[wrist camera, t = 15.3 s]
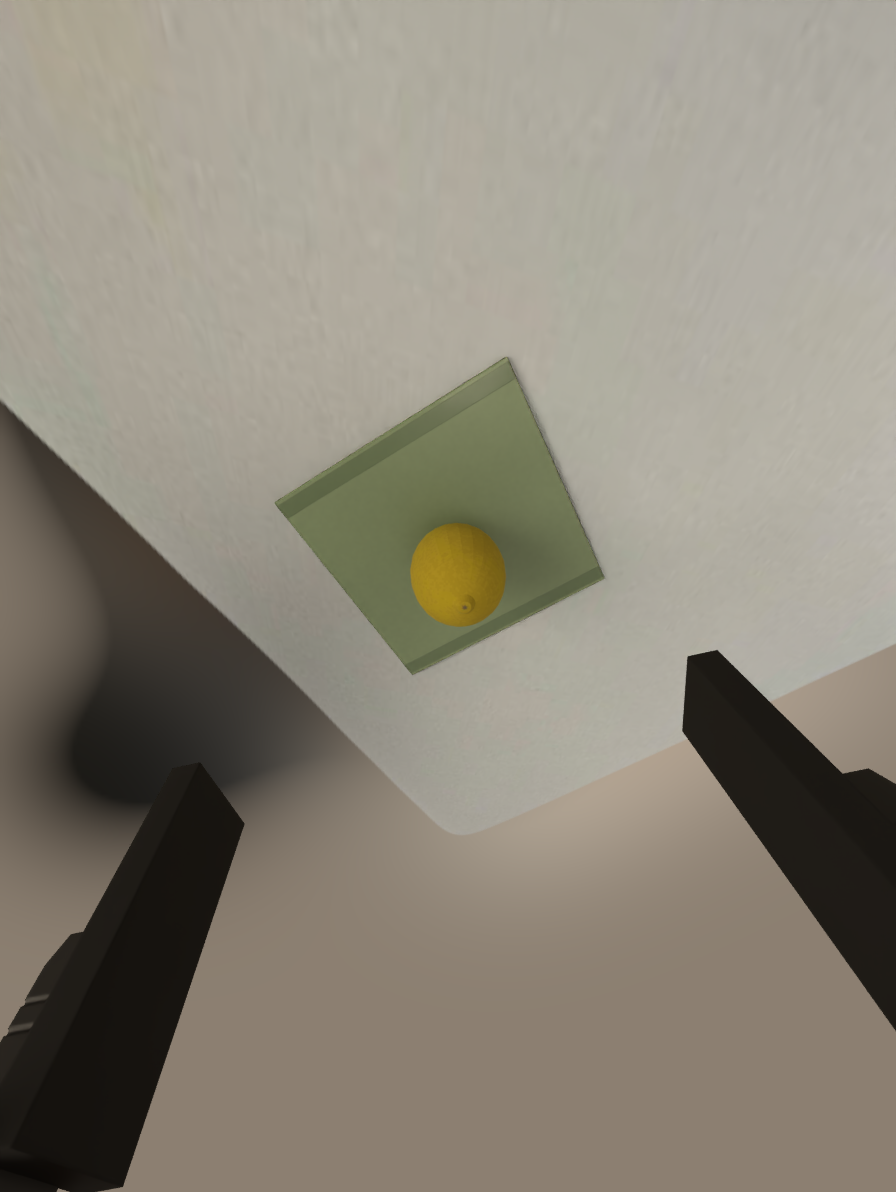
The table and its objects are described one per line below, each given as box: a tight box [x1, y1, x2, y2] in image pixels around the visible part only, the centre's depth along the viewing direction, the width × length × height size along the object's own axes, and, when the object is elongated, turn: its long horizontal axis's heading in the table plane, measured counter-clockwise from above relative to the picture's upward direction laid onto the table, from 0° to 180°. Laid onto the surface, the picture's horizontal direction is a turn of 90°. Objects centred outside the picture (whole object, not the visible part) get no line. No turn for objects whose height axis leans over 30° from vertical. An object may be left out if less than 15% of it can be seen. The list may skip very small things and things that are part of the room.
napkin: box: [275, 357, 604, 675], centre depth 30 cm, size 16×16×1 cm
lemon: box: [410, 523, 506, 627], centre depth 26 cm, size 6×6×8 cm
